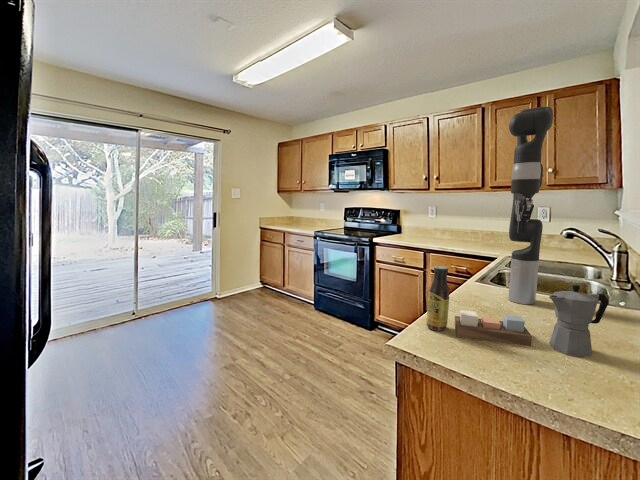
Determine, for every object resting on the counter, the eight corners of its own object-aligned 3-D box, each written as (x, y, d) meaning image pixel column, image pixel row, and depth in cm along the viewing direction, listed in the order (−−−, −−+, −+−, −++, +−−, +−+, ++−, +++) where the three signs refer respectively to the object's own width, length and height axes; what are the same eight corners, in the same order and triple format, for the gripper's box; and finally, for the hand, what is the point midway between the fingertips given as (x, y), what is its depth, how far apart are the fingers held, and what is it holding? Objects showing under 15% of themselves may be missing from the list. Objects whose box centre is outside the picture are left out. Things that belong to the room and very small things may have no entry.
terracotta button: (480, 329, 98) (481, 316, 97) (496, 331, 96) (497, 318, 96) (482, 334, 94) (483, 321, 93) (499, 336, 92) (500, 323, 92)
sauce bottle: (422, 325, 102) (424, 265, 100) (437, 323, 104) (440, 264, 102) (436, 333, 96) (439, 269, 93) (452, 330, 98) (455, 268, 96)
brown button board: (454, 324, 103) (454, 315, 103) (521, 332, 97) (522, 323, 96) (456, 337, 94) (457, 327, 93) (531, 346, 87) (532, 336, 87)
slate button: (502, 327, 96) (503, 314, 95) (519, 329, 94) (520, 316, 94) (506, 333, 92) (507, 319, 91) (523, 335, 90) (524, 321, 90)
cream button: (459, 322, 100) (460, 310, 99) (475, 324, 98) (476, 311, 98) (461, 327, 95) (461, 314, 95) (477, 329, 94) (478, 316, 94)
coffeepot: (558, 357, 81) (564, 289, 79) (533, 341, 91) (539, 280, 88) (618, 358, 81) (626, 290, 79) (588, 342, 90) (594, 280, 88)
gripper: (547, 176, 91) (542, 236, 94) (533, 178, 103) (529, 231, 106) (517, 177, 94) (513, 235, 96) (507, 179, 106) (503, 230, 108)
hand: (521, 233), depth 101 cm, fingers closed
